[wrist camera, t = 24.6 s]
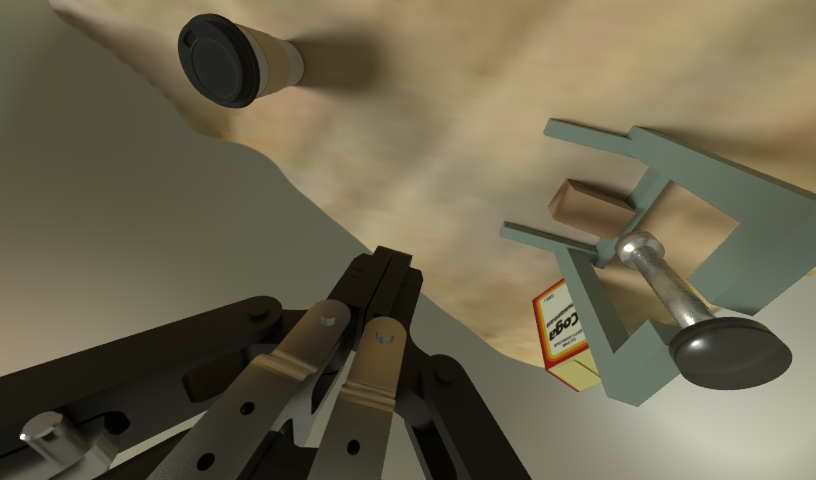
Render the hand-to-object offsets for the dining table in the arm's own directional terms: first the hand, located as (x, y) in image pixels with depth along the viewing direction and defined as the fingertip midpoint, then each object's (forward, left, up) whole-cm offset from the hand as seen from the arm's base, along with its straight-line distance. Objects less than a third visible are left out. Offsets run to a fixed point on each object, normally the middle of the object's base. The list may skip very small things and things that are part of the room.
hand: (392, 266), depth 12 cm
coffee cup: (-2, -28, -37) cm, 47 cm away
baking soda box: (+25, +28, -37) cm, 53 cm away
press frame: (+6, +20, -37) cm, 43 cm away
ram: (+6, +24, -24) cm, 35 cm away
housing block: (+7, +22, -37) cm, 44 cm away
